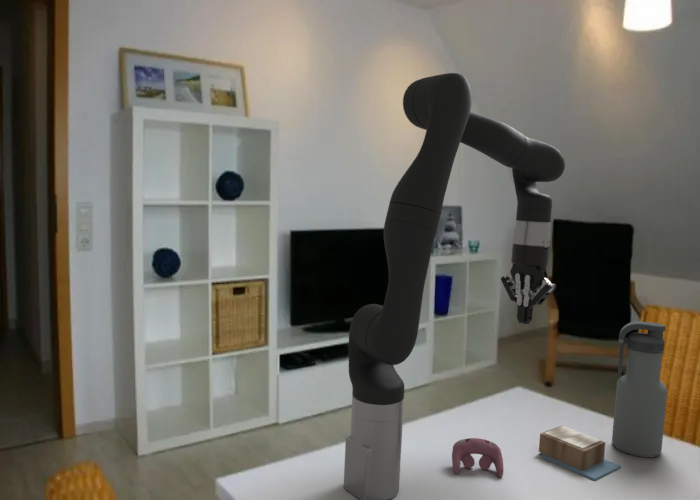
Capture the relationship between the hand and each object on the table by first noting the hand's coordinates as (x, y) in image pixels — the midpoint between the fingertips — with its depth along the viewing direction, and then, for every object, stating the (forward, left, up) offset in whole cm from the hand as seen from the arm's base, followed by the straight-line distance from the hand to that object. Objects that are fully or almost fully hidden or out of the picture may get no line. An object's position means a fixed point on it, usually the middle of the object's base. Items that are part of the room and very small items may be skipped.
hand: (524, 323), depth 123 cm
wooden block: (+4, -6, -25) cm, 26 cm away
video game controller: (-17, -3, -27) cm, 32 cm away
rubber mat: (+4, -13, -27) cm, 30 cm away
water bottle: (+21, -16, -27) cm, 38 cm away
